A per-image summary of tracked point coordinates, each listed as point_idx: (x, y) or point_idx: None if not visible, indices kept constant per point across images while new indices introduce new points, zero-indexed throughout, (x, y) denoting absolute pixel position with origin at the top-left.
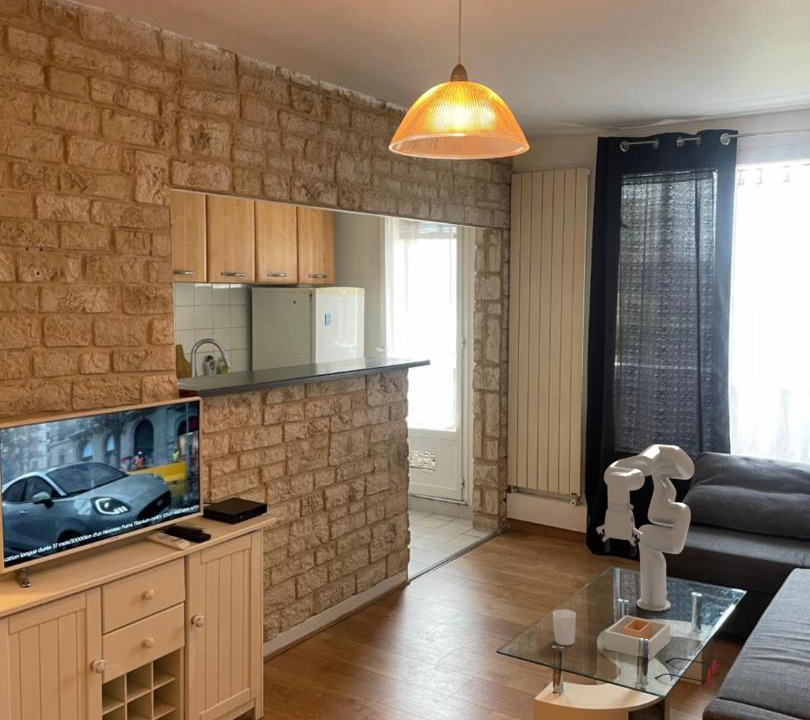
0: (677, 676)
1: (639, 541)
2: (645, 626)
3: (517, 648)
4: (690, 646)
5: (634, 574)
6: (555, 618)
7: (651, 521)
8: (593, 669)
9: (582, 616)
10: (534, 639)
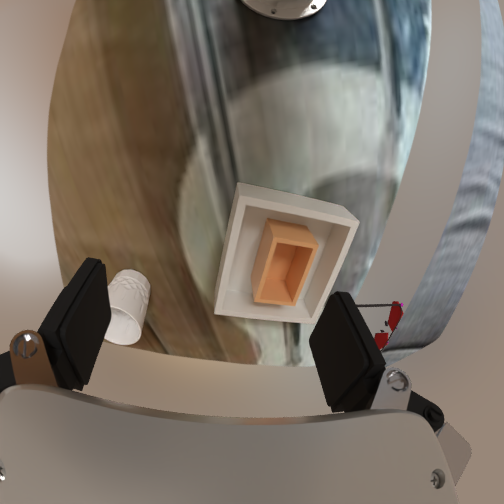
0: None
1: (420, 404)
2: (305, 276)
3: None
4: (378, 217)
5: None
6: (110, 336)
7: None
8: (220, 355)
9: (108, 128)
10: None
